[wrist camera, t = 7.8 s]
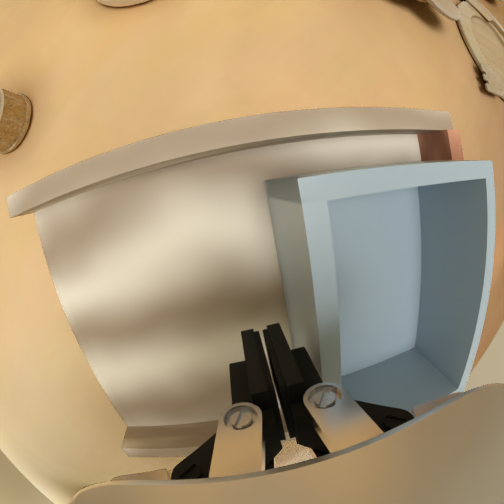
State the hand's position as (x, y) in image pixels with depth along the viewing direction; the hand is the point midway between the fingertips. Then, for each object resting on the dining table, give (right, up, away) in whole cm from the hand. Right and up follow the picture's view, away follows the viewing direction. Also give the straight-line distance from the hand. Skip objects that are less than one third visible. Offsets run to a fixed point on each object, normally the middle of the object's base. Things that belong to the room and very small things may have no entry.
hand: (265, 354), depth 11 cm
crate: (+6, +2, +5) cm, 8 cm away
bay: (0, +2, +5) cm, 6 cm away
